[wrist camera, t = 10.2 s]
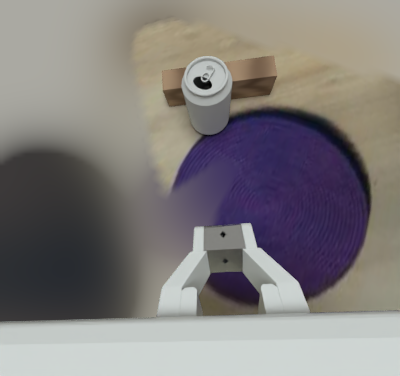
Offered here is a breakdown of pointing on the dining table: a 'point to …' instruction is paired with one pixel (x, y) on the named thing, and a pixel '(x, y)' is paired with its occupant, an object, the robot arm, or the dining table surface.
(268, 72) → the wooden block
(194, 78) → the can
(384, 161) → the dining table surface
